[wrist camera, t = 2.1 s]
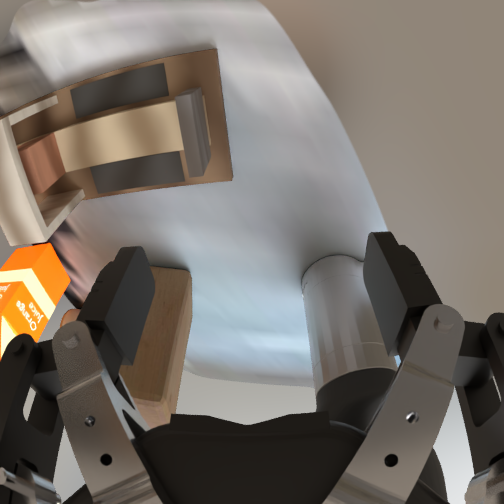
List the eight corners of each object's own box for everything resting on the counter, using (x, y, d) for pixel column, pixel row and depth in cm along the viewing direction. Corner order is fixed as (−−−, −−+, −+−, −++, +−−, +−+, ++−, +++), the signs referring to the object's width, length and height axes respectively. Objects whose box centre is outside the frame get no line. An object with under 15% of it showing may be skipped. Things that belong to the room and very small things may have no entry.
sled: (202, 85, 26) (189, 94, 21) (212, 152, 30) (203, 176, 25) (-41, 164, 28) (-66, 184, 24) (-26, 204, 33) (-48, 225, 28)
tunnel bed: (216, 48, 25) (196, 48, 16) (233, 175, 34) (223, 229, 25) (-43, 142, 28) (-90, 175, 19) (-15, 217, 36) (-53, 258, 28)
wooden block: (192, 267, 42) (163, 404, 26) (193, 316, 48) (173, 436, 32) (123, 259, 41) (70, 383, 25) (132, 308, 47) (96, 420, 31)
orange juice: (16, 248, 40) (-47, 339, 24) (50, 242, 39) (-18, 346, 23) (36, 283, 45) (-15, 374, 29) (71, 281, 44) (19, 384, 28)
